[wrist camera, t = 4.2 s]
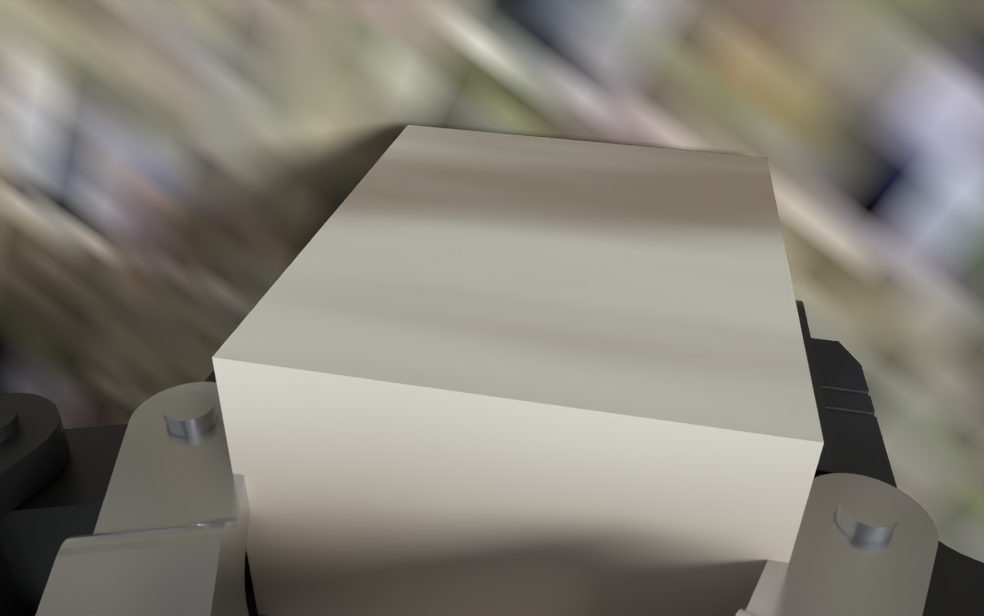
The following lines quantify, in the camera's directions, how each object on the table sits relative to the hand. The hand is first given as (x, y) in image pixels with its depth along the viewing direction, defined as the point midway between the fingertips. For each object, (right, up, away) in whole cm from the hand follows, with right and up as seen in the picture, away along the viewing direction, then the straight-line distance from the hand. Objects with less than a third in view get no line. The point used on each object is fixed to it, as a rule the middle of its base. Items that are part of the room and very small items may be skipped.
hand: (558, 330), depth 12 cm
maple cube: (0, 0, +1) cm, 1 cm away
